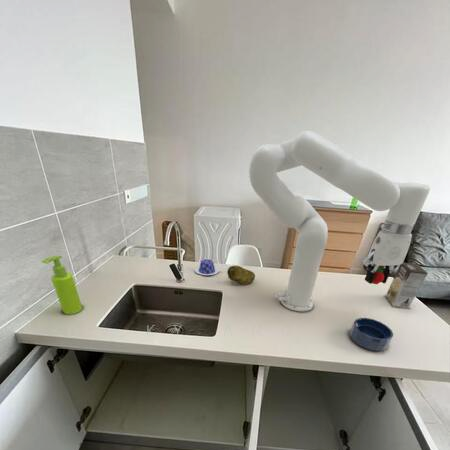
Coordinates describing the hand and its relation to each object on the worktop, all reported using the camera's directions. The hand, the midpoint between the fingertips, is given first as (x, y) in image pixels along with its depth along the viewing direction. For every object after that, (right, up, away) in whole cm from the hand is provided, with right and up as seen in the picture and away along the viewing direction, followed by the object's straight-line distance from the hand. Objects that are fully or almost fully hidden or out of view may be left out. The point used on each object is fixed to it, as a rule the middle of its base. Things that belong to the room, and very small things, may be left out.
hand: (374, 281), depth 83 cm
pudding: (-60, +8, +36) cm, 71 cm away
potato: (-44, +1, +28) cm, 52 cm away
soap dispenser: (-106, -10, +3) cm, 106 cm away
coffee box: (+21, -8, +20) cm, 30 cm away
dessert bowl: (-4, -20, -3) cm, 20 cm away
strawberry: (0, -1, 0) cm, 1 cm away
